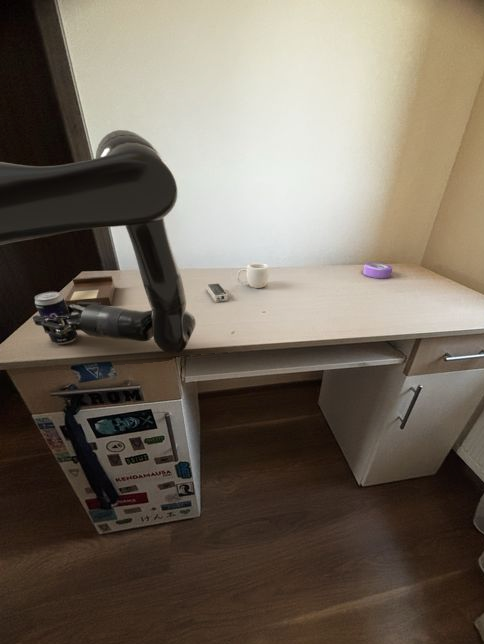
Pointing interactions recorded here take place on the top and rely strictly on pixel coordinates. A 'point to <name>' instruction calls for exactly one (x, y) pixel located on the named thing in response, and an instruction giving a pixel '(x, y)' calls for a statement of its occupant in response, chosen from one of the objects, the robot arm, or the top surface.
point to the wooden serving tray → (91, 291)
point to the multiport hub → (217, 292)
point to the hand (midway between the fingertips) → (46, 314)
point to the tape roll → (377, 270)
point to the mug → (256, 275)
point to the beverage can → (54, 313)
